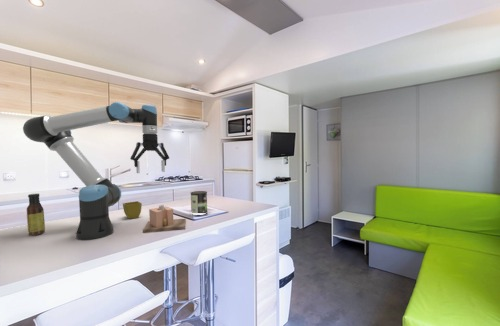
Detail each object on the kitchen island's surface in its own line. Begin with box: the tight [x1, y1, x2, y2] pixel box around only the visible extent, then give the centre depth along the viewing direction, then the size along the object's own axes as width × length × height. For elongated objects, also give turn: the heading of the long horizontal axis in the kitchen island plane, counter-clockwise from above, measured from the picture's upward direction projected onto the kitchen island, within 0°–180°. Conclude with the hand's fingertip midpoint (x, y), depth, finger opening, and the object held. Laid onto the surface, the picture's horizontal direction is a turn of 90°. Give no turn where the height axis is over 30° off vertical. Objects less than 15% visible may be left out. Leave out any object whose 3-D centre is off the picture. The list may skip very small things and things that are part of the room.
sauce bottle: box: [26, 193, 46, 236], centre depth 116 cm, size 7×6×20 cm
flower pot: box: [122, 201, 143, 220], centre depth 145 cm, size 9×9×9 cm
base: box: [142, 204, 187, 234], centre depth 125 cm, size 20×15×12 cm
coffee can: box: [190, 190, 208, 213], centre depth 151 cm, size 10×10×14 cm
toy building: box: [148, 206, 174, 228], centre depth 125 cm, size 9×9×8 cm
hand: (151, 172), depth 130 cm, fingers open, 13 cm apart
